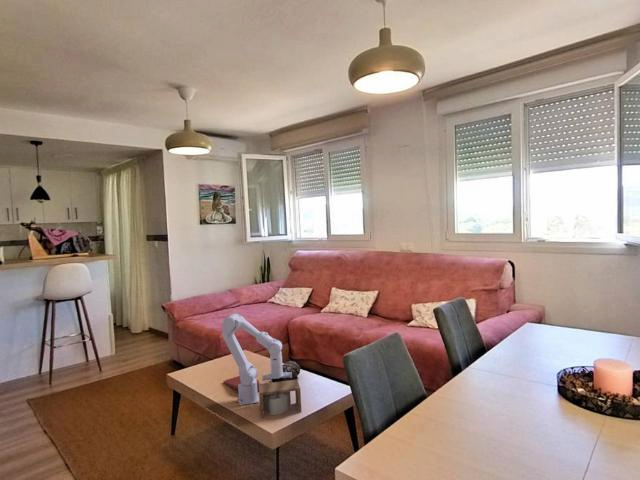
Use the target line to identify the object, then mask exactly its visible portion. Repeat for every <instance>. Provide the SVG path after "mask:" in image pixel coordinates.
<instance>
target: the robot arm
mask: <svg viewBox="0 0 640 480" xmlns="http://www.w3.org/2000/svg"><path fill="white" fill-rule="evenodd" d="M221 327H222V338H223V341H224V342H225V345H226V346H227V348H228V350H229V352H230V354H231V355H232V357H233V359H234V361H235V363H236V366H237V368H238V375H239V376H240V381H241V384H238V389H237V390H238V395H237V398H238V405H239V406H242V405H243V406H244V405H249V404H257V403H260V397H259V393H257V380H258V379H257V377H258V369H257V368H256V367H255V366H254V365H253V363H252V362H250V361H249V360H248V358H247V356H246V354H245V353H244V351H243V349H242V347H241V344H240V343H239V341H238V339H237V337H236V335H235V332H236V330H244V331H245V332H246V333H248V334H250V335H251V336H253V337H254V338H255V339H256V342H257V343H258V344H260V345H261V346H262V347H264V348H265V349H267V351H268V353H269V355H270V358H269V359H270V361H269V362H270V373H269V374H265V375H262V376H261V381H262V382H265V381H269V380H270V381H271V383H273V382H277V381H278V382H281V381H283V378H287V377H290V378H291V377H292V373H291V372H283V368H282V365H283V355H282V353H283V352H282V350H283V343H282V341H281V340H279V339H276V338H273V337H272V336H270V335H269V332H268V331H259V330H258V329H257V328H256V327H255V326H254V325H252V324H251V323H250V322H249V321H248V320H246V319H245V317H244V316H242V315H240V314H239V313H237V312H233V313H231V314H230V315H228V316H227V317H225V318H224V319H223V321H222V323H221ZM271 379H272V380H271Z"/></svg>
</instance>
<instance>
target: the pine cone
mask: <svg viewBox="0 0 640 480" xmlns="http://www.w3.org/2000/svg"><path fill="white" fill-rule="evenodd" d="M282 368H283V372H291V373H292V377H291V378H290V377H287V378H283V381H289V380H299V377H298V376H299V375H300V373H301V366H300V365H299V364H298V363H297V362H296V361H293V360H289V361H287V362H284V363H282ZM270 381H272V379H271V380H270ZM277 382H278V381H277Z"/></svg>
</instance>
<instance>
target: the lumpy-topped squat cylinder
mask: <svg viewBox="0 0 640 480" xmlns="http://www.w3.org/2000/svg"><path fill="white" fill-rule="evenodd" d="M291 407H292V402H291V391H289V392H281V393H274V394H266V395H263V410H264V412H266V413H267V414H269V415H270V416H275V415H276V416H277V415H279V414H282V413H284V412H286V411H288V410H289V409H290V408H291Z"/></svg>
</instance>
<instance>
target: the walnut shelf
mask: <svg viewBox="0 0 640 480" xmlns="http://www.w3.org/2000/svg"><path fill="white" fill-rule="evenodd" d="M298 380H299V379H297V380H289V381H281V382H267V383H259V392H258V397H259V409H260V410H259V411H260V418H261V419H264V418H265V411H264V408H263V395H266V394H274V393H281V392H289V391H290V392H295V393H294V394H295V405H296V408H297V411H298V413H299V414H300V413H302V400H301V399H302V395H301V393H302V392H301V386H300V384H299V381H298Z"/></svg>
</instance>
